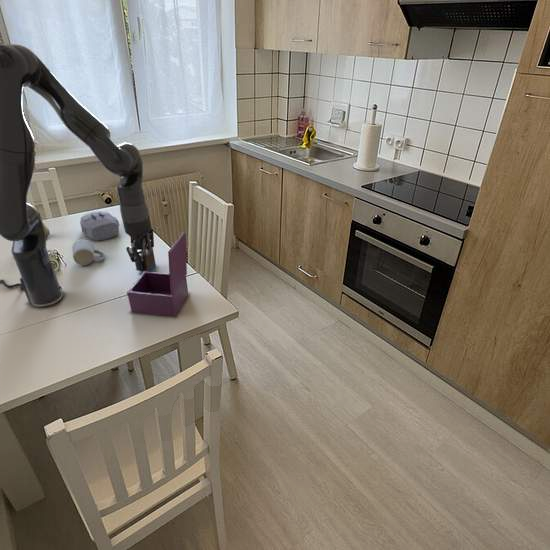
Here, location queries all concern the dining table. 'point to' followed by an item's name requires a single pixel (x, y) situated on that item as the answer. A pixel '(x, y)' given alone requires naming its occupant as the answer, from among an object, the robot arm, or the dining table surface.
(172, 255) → the lid
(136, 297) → the file box
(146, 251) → the block
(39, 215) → the fennel bulb
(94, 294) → the dining table surface
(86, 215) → the grey rounded bag
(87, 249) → the ceramic mug
